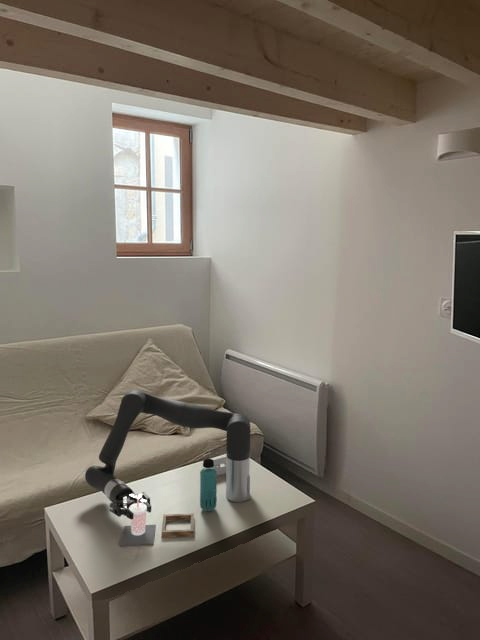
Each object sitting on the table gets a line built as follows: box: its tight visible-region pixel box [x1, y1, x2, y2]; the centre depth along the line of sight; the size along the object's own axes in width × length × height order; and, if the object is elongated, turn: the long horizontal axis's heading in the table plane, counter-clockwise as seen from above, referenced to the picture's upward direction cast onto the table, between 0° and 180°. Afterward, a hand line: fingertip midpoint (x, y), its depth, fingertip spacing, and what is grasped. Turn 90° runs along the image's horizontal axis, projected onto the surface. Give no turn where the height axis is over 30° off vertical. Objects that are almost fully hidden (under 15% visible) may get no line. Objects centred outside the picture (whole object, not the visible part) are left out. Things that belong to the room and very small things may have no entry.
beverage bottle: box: [199, 458, 218, 512], centre depth 184 cm, size 6×7×20 cm
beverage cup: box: [129, 493, 147, 535], centre depth 168 cm, size 6×6×14 cm
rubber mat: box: [119, 524, 157, 547], centre depth 169 cm, size 11×11×1 cm
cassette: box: [211, 455, 227, 477], centre depth 215 cm, size 12×2×8 cm, turn 123°
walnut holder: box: [161, 513, 195, 539], centre depth 174 cm, size 11×11×2 cm
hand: (141, 513), depth 166 cm, fingers closed on beverage cup, 6 cm apart
